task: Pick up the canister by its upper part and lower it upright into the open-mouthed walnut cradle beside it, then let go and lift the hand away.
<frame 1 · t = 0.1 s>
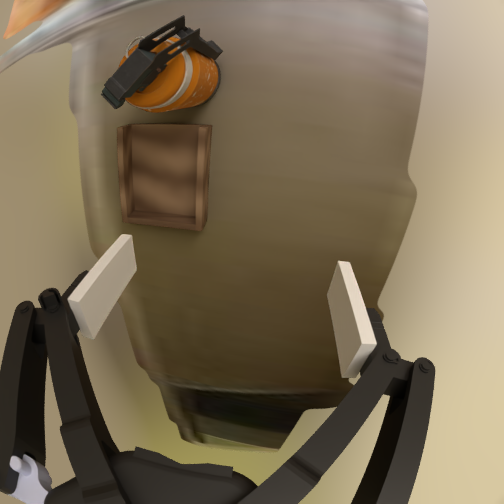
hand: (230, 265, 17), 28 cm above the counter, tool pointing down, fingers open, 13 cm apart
cradle: (167, 171, 43), on the counter
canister: (197, 74, 34), on the counter
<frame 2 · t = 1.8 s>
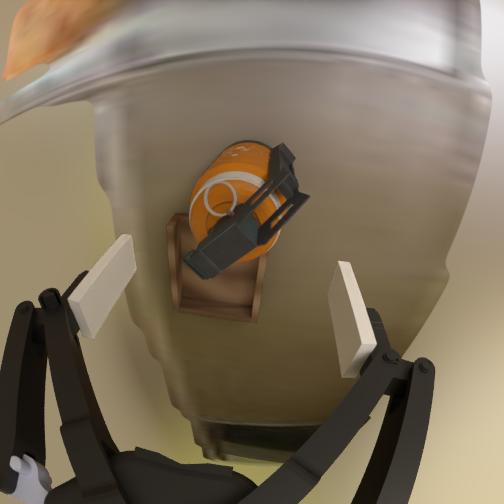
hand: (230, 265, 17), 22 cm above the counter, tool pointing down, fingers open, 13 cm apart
cradle: (219, 264, 44), on the counter
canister: (255, 167, 36), on the counter
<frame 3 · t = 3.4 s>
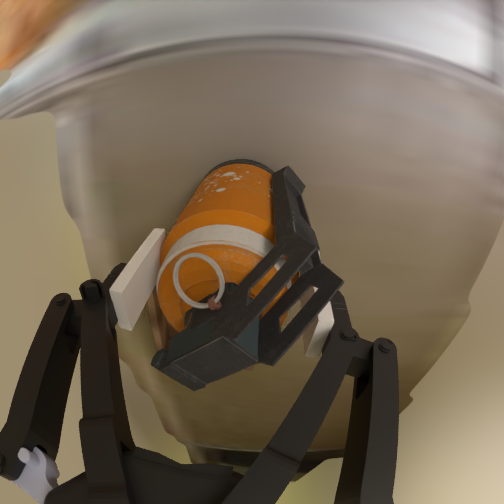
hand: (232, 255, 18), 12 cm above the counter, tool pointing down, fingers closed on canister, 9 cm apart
cradle: (208, 305, 37), on the counter
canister: (250, 193, 28), on the counter, touching gripper
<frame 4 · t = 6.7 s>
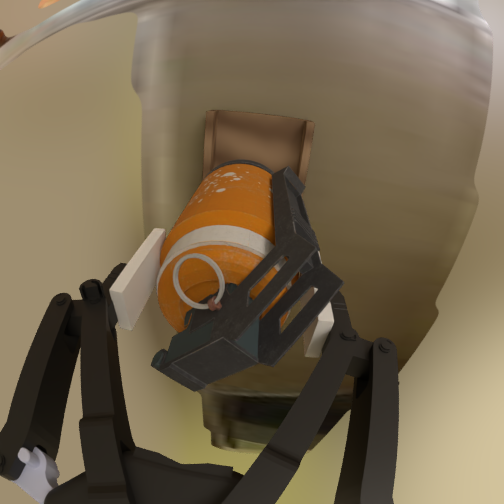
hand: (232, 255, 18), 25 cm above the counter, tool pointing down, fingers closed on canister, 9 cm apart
cradle: (255, 166, 40), on the counter
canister: (250, 193, 28), point 14 cm above the counter, touching gripper
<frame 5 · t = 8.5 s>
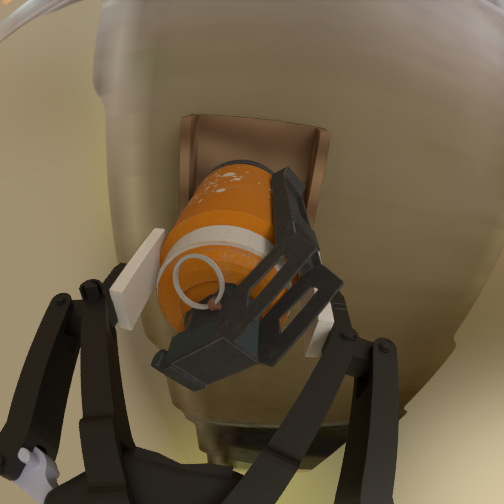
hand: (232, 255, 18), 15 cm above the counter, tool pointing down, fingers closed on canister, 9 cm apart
cradle: (250, 188, 31), on the counter
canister: (250, 193, 28), point 3 cm above the counter, touching gripper
when the fingers open (14 cm above the counter, at t = 9.6 s): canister drops 1 cm, resting on cradle.
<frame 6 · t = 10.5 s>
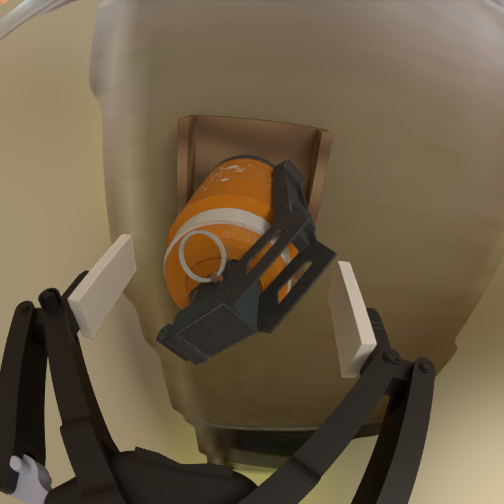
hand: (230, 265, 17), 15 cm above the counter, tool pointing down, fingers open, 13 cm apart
cradle: (249, 191, 30), on the counter
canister: (254, 187, 29), point 1 cm above the counter, touching cradle
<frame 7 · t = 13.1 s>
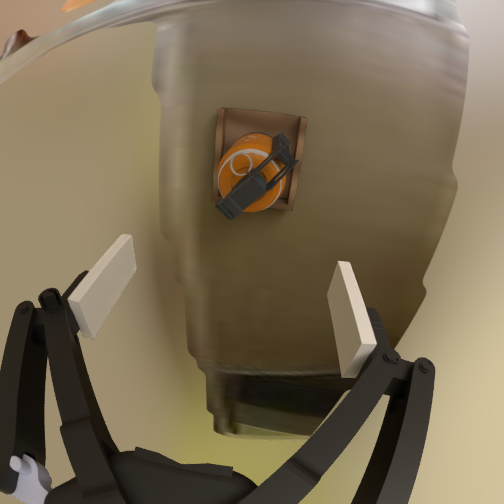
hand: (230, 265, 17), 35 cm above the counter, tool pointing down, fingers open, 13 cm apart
cradle: (258, 155, 47), on the counter
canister: (261, 152, 46), point 1 cm above the counter, touching cradle
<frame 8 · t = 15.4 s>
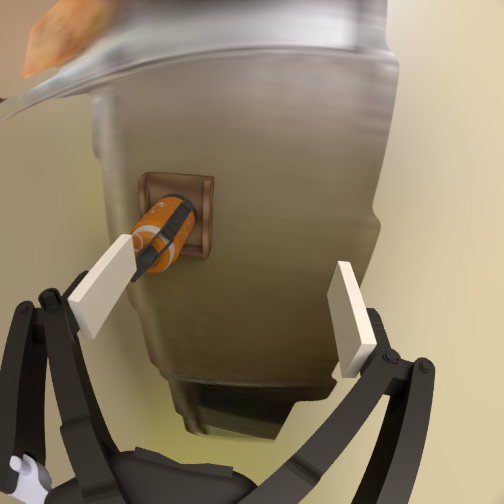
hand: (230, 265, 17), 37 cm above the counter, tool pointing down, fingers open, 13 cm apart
cradle: (179, 211, 56), on the counter
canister: (180, 209, 55), point 1 cm above the counter, touching cradle
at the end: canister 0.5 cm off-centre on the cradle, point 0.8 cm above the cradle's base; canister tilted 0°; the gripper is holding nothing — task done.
